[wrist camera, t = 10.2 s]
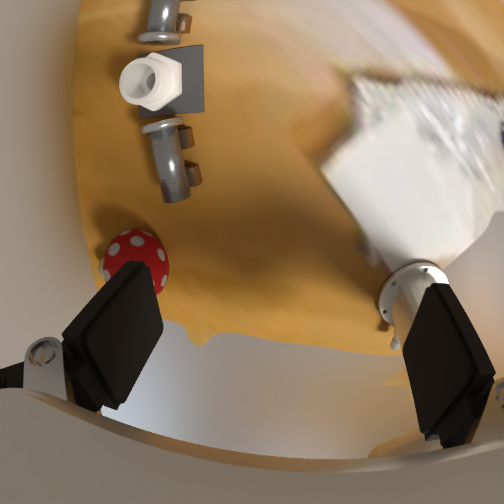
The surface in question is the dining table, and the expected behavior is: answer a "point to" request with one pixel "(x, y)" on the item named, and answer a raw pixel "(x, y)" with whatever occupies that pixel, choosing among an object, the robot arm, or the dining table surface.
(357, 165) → the dining table surface
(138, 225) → the dining table surface
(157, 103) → the pipe fitting
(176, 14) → the shaft
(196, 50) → the seat pad
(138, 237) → the decorative mushroom
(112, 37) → the dining table surface
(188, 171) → the shaft
